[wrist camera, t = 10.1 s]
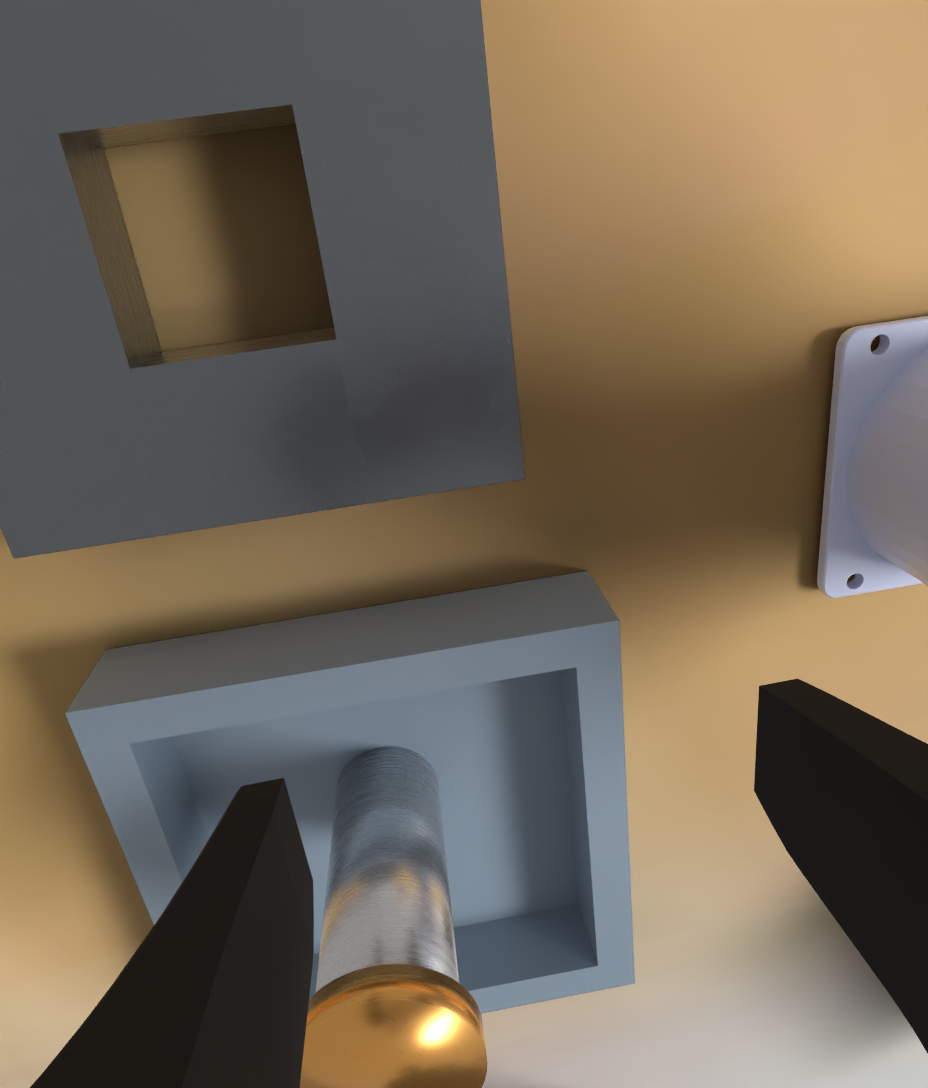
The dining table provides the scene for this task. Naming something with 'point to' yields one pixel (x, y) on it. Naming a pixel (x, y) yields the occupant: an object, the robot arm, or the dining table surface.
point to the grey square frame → (269, 362)
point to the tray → (408, 722)
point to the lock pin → (390, 941)
